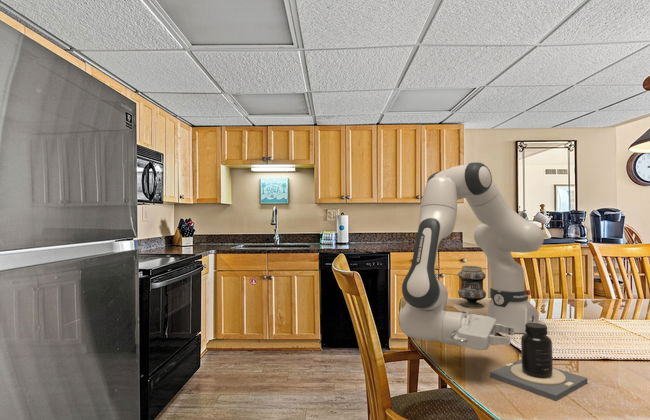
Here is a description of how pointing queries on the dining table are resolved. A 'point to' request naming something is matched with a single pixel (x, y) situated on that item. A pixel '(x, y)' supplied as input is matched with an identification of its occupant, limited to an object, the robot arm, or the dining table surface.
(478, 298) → the apothecary jar
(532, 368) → the supplement bottle
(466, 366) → the dining table surface
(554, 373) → the slate board
